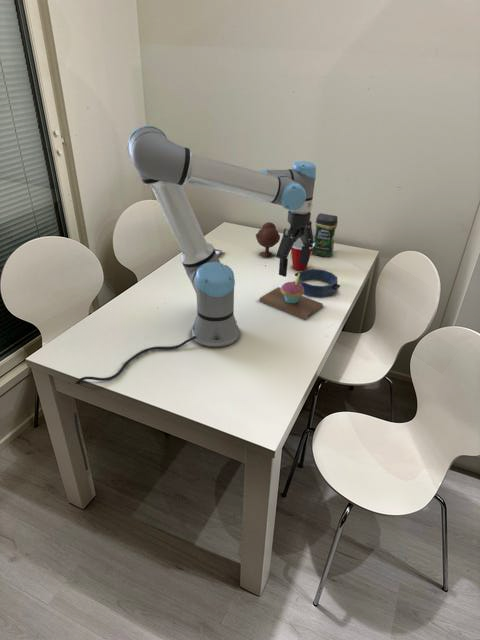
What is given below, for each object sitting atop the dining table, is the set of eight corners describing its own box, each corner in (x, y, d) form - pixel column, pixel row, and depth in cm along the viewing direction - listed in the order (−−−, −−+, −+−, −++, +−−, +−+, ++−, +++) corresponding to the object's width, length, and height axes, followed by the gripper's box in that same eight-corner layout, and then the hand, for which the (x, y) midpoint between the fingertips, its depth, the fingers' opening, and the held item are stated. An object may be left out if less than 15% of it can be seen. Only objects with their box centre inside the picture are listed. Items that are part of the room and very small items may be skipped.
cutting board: (305, 319, 160) (305, 316, 159) (259, 301, 171) (259, 297, 170) (322, 307, 168) (323, 303, 167) (278, 290, 179) (278, 286, 178)
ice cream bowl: (250, 252, 210) (252, 221, 202) (271, 249, 214) (274, 218, 206) (261, 261, 202) (263, 229, 194) (283, 257, 206) (285, 225, 198)
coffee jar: (309, 254, 210) (314, 215, 200) (314, 249, 216) (319, 210, 206) (330, 258, 207) (336, 219, 197) (334, 252, 213) (340, 213, 203)
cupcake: (302, 296, 172) (306, 266, 166) (303, 307, 165) (306, 277, 158) (280, 294, 172) (282, 265, 166) (279, 305, 165) (281, 275, 159)
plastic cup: (285, 272, 193) (287, 245, 187) (288, 262, 202) (291, 236, 196) (310, 275, 191) (313, 248, 185) (313, 265, 200) (316, 239, 194)
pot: (326, 302, 171) (328, 291, 169) (285, 287, 181) (286, 277, 179) (346, 288, 182) (348, 278, 179) (306, 274, 191) (307, 264, 189)
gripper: (287, 222, 140) (282, 284, 151) (328, 205, 157) (320, 262, 168) (268, 216, 144) (263, 277, 155) (310, 200, 161) (303, 256, 172)
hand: (293, 269), depth 162 cm, fingers open, 13 cm apart
